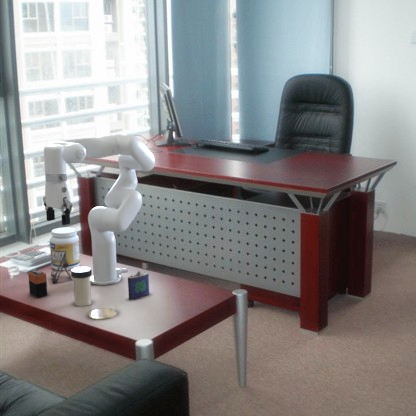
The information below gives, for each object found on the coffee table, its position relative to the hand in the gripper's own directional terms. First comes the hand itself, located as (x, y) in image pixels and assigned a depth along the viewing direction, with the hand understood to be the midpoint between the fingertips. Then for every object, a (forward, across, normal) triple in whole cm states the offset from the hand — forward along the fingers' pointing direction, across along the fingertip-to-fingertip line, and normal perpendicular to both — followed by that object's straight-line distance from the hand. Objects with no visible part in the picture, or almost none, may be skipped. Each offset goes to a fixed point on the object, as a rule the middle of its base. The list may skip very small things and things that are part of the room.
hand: (58, 222), depth 255 cm
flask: (+30, -22, -20) cm, 42 cm away
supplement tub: (+30, +31, -23) cm, 49 cm away
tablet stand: (+30, +18, -12) cm, 38 cm away
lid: (+17, -11, -1) cm, 20 cm away
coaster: (+30, -26, +1) cm, 40 cm away
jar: (+30, -11, -2) cm, 32 cm away
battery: (+31, +10, +4) cm, 32 cm away
